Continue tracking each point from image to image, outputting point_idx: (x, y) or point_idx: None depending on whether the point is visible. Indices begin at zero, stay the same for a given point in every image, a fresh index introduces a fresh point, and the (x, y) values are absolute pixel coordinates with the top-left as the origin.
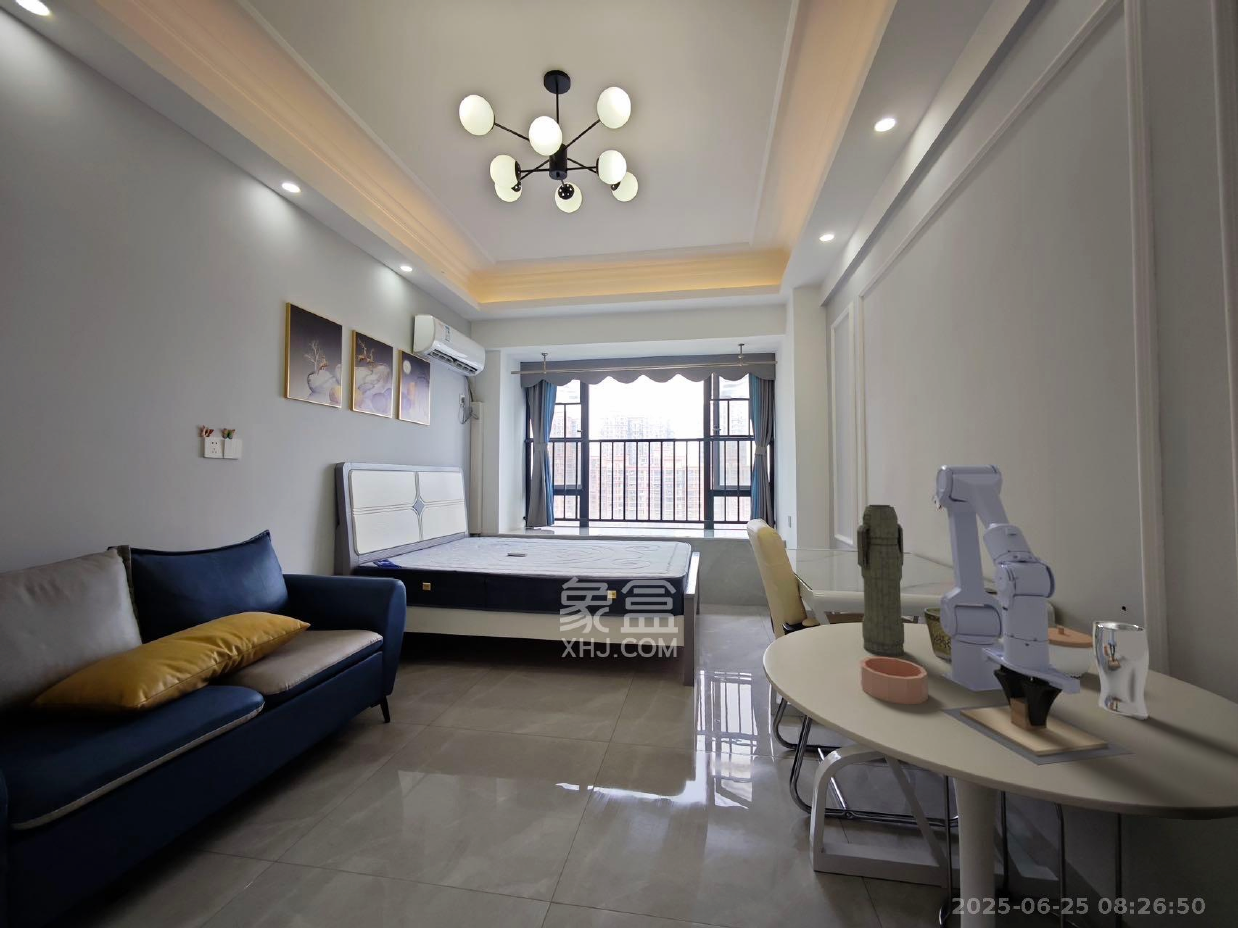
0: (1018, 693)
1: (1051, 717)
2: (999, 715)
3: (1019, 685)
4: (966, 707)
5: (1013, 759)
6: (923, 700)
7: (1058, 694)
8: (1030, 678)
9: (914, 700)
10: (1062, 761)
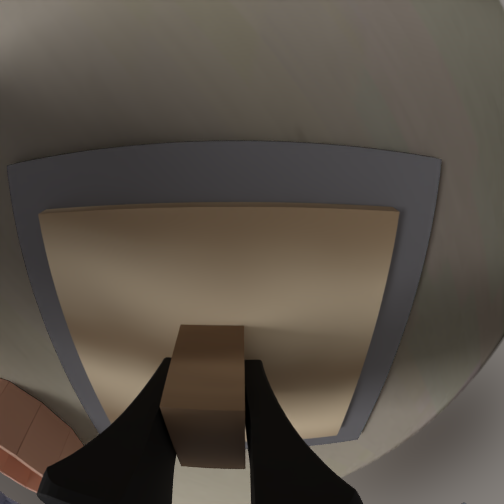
0: (163, 455)
1: (156, 211)
2: (137, 380)
3: (156, 484)
4: (72, 383)
5: (316, 446)
6: (60, 428)
7: (330, 469)
8: (128, 484)
9: (74, 448)
10: (375, 400)
